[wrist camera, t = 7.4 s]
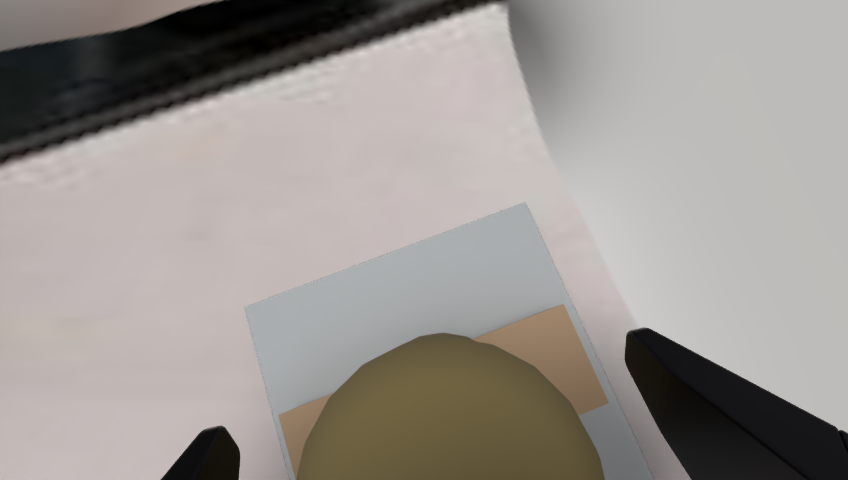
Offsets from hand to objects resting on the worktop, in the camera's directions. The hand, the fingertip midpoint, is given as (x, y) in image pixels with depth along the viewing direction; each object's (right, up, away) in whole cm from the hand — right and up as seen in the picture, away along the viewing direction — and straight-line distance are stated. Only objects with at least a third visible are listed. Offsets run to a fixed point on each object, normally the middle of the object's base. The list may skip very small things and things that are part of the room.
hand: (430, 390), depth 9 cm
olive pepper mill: (+1, -3, +7) cm, 8 cm away
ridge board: (+1, -4, +10) cm, 11 cm away
